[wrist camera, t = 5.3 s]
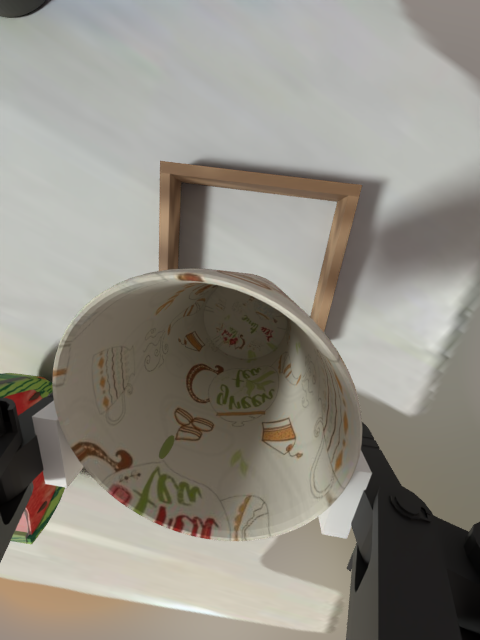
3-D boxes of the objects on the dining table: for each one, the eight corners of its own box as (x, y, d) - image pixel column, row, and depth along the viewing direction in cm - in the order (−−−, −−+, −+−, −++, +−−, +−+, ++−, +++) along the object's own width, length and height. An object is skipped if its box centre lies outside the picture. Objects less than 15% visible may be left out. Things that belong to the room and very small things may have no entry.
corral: (173, 171, 26) (160, 160, 23) (349, 192, 25) (362, 185, 22) (168, 322, 32) (158, 331, 29) (311, 343, 31) (317, 355, 28)
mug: (338, 297, 14) (453, 400, 5) (240, 432, 18) (198, 628, 9) (218, 228, 14) (95, 193, 5) (147, 380, 18) (8, 522, 9)
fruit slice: (83, 480, 44) (33, 545, 34) (51, 475, 44) (-7, 539, 35) (58, 353, 35) (-16, 394, 26) (19, 349, 36) (-68, 388, 26)
